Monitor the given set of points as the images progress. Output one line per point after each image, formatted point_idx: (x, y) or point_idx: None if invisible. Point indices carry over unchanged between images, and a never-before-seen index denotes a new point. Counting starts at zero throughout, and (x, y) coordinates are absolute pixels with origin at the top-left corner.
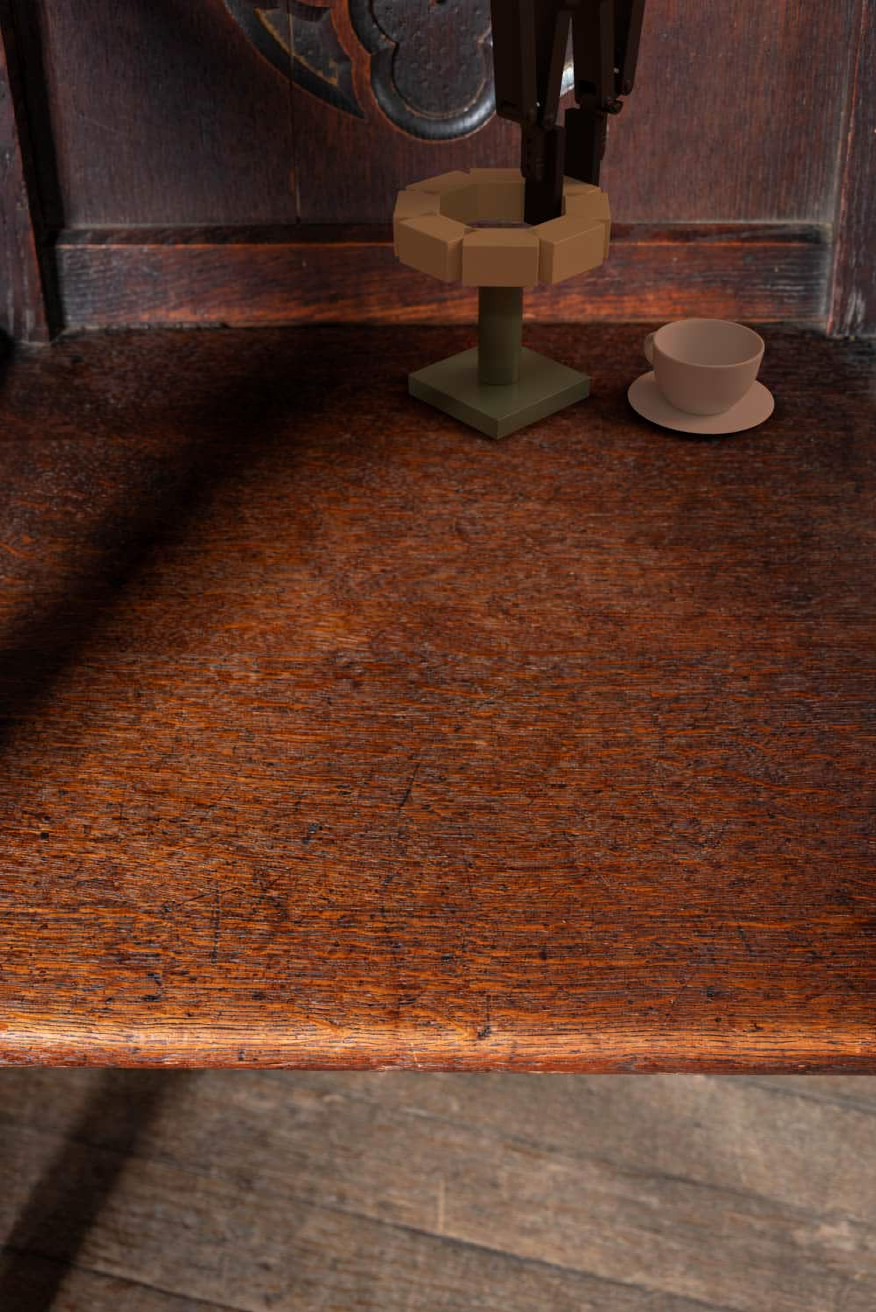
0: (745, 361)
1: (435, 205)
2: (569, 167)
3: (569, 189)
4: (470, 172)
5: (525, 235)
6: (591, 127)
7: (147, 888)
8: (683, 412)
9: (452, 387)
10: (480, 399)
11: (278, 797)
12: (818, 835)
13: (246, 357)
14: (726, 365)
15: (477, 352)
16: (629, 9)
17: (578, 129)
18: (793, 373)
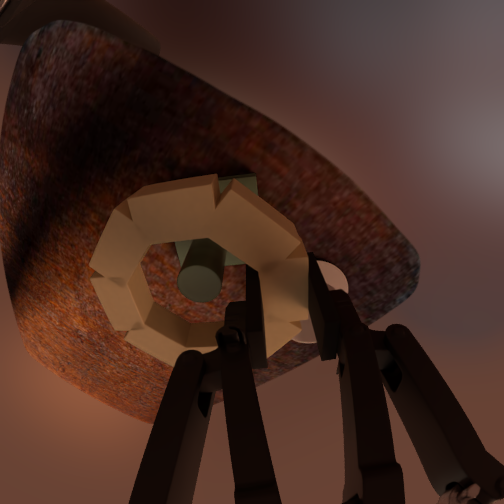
0: (309, 342)
1: (131, 267)
2: (310, 288)
3: (280, 308)
4: (220, 203)
5: (175, 354)
6: (319, 348)
7: (41, 352)
8: None
9: None
10: (185, 245)
11: (62, 353)
12: None
13: (104, 82)
14: (297, 341)
15: (223, 188)
16: (415, 441)
17: (319, 328)
18: (371, 294)
